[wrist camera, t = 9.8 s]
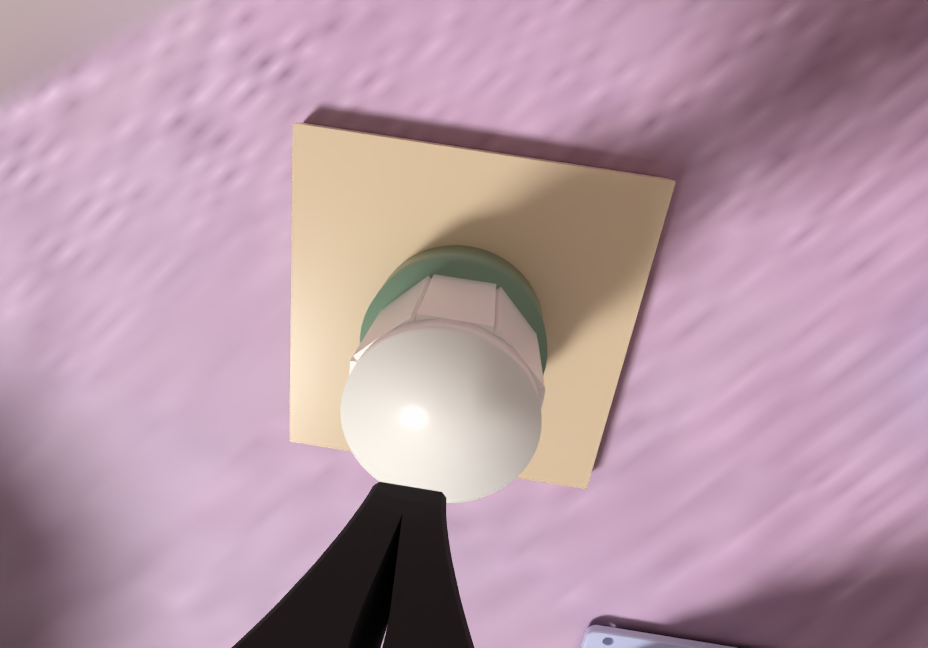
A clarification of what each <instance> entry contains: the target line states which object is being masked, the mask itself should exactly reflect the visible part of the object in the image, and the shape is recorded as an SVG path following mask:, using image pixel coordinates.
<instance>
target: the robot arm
mask: <svg viewBox="0 0 928 648" xmlns="http://www.w3.org/2000/svg"><path fill="white" fill-rule="evenodd" d="M387 624H388V625H387ZM386 628H387V630H386ZM385 631H386V636H385V640H384V644H383V648H474V645H473V642H472V639H471V635H470V632H469V628H468V625H467V621H466V618H465V614H464V611H463V607H462V603H461V599H460V595H459V591H458V586H457V581H456V577H455V572H454V568H453V563H452V558H451V552H450V546H449V539H448V531H447V521H446V496H445V495H444V494H443V493H442V492H439V491H433V490H427V489H421V488H415V487H409V486H403V485H397V484H391V483H385V482H379V483H377V484H375V485H374V486H373V487H372V489H371V491H370V492H369V494H368V496H367V497H366V499H365V500H364V502H363V503H362V504H361V506H360V507H359V509H358V510H357V512H356V513H355V514H354V516H353V517H352V518H351V520H350V521H349V522H348V524H347V525H346V526H345V527H344V529H343V530H342V531H341V533H340V534H339V535H338V536H337V537H336V539H335V540H334V541H333V542H332V543H331V545H330V546H329V547H328V548H327V549H326V551H325V552H324V553H323V554H322V555H321V557H320V558H319V559H318V560H317V561H316V563H315V564H314V565H313V566H312V567H311V568H310V569H309V570H308V572H307V573H306V574H305V575H304V576H303V577H302V578H301V579H300V580H299V581H298V582H297V583H296V584H295V585H294V587H293V588H292V589H291V590H290V591H289V592H288V593H287V594H286V595H285V596H284V597H283V598H282V599H281V600H280V602H279V603H278V604H277V605H276V606H275V607H274V608H273V609H272V610H271V611H270V612H269V613H268V614H267V615H266V616H265V617H264V618H263V619H262V620H261V621H260V622H259V623H257V624H256V625H255V626H254V627H253V628H252V629H251V630H250V631H249V632H248V633H247V634H246V635H245V636H244V637H243V638H242V639H241V640H239V641H238V642H237V643H236V644H235V645H234V646H233V647H232V648H380V647H381V644H382V641H383V638H384V634H385ZM580 648H736V647H730V646H724V645H718V644H712V643H706V642H700V641H694V640H687V639H681V638H675V637H669V636H663V635H657V634H651V633H645V632H638V631H632V630H626V629H620V628H614V627H608V626H602V625H592V626H590V627H588V628H587V629H586V631H585V634H584V637H583V640H582V643H581V646H580Z"/></svg>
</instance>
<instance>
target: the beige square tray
mask: <svg viewBox="0 0 928 648" xmlns="http://www.w3.org/2000/svg"><path fill="white" fill-rule="evenodd" d="M675 183H676V181H674V180H671V179H669V178H663V177H656V176H649V175H643V174H636V173H630V172H623V171H617V170H610V169H603V168H597V167H590V166H584V165H577V164H571V163H564V162H558V161H551V160H544V159H538V158H531V157H525V156H518V155H512V154H505V153H498V152H492V151H485V150H479V149H472V148H466V147H459V146H453V145H446V144H439V143H433V142H426V141H420V140H413V139H407V138H400V137H394V136H387V135H380V134H374V133H367V132H361V131H354V130H348V129H341V128H334V127H328V126H321V125H315V124H308V123H293V157H292V254H291V351H290V442H296V443H302V444H308V445H315V446H321V447H327V448H333V449H340V450H346V451H351V450H350V448H349V445H348V443H347V441H346V439H345V436H344V433H343V429H342V424H341V415H340V406H341V398H342V394H343V390H344V387H345V384H346V382H347V380H348V378H349V370H350V360H351V358H352V357H353V355H354V353H355V351H356V350H357V348H358V347H359V345H360V343H361V342H362V340H363V338H364V337H365V335H366V334H367V332H368V330H369V329H370V327H371V325H372V324H373V322H374V321H375V319H376V317H377V316H378V314H379V313H380V311H381V310H382V309H383V308H384V307H386V306H387V305H388V304H390V303H391V302H393V301H394V300H395V299H397V298H398V297H399V296H401V295H402V294H404V293H405V292H406V291H408V290H409V289H410V288H412V287H413V286H415V285H416V284H417V283H419V282H420V281H422V280H423V279H424V278H426V277H427V276H428V275H429V276H430V278H431V279H432V277H433V275H434V274H436V275H442V276H449V277H455V278H462V279H468V280H475V281H481V282H488V283H494V284H496V289H498V288H499V287H502V289H503V290H504V291H505V293H506V294H507V295H508V297H509V298H510V299H511V301H512V302H513V303H514V305H515V306H516V307H517V309H518V310H519V311H520V313H521V314H522V315H523V317H524V318H525V319H526V321H527V322H528V323H529V325H530V326H531V327H532V329H533V330H534V331H535V333H536V334H537V338H538V345H539V352H540V359H541V365H542V372H543V379H544V385H545V395H544V400H543V404H542V408H541V415H542V428H541V435H540V440H539V443H538V446H537V449H536V451H535V453H534V455H533V458H532V460H531V461H530V462H529V464H528V465H527V467H526V468H525V469H524V471H523V472H522V473H521V474H520V475H519V476H518V477H517V478H521V479H527V480H533V481H540V482H546V483H552V484H558V485H565V486H571V487H577V488H583V489H587V486H588V483H589V479H590V476H591V472H592V469H593V466H594V462H595V459H596V455H597V452H598V448H599V445H600V441H601V438H602V435H603V431H604V428H605V424H606V421H607V417H608V414H609V410H610V407H611V404H612V400H613V397H614V393H615V390H616V386H617V383H618V380H619V376H620V373H621V369H622V366H623V362H624V359H625V355H626V352H627V349H628V345H629V342H630V338H631V335H632V331H633V328H634V324H635V321H636V318H637V314H638V311H639V307H640V304H641V300H642V297H643V293H644V290H645V287H646V283H647V280H648V276H649V273H650V269H651V266H652V262H653V259H654V256H655V252H656V249H657V245H658V242H659V238H660V235H661V231H662V228H663V225H664V221H665V218H666V214H667V211H668V207H669V204H670V200H671V197H672V194H673V190H674V187H675Z"/></svg>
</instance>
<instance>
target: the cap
mask: <svg viewBox="0 0 928 648" xmlns="http://www.w3.org/2000/svg"><path fill="white" fill-rule="evenodd" d="M544 395H545V385H544V379H543V372H542V365H541V359H540V352H539V345H538V338H537V334H536V333H535V331H534V330H533V329H532V327H531V326H530V325H529V323H528V322H527V321H526V319H525V318H524V317H523V315H522V314H521V313H520V311H519V310H518V309H517V307H516V306H515V305H514V303H513V302H512V301H511V299H510V298H509V297H508V295H507V294H506V293H505V291H504V290H503V289H502V287H499V288H498V289H496V284H494V283H488V282H481V281H475V280H468V279H462V278H455V277H449V276H442V275H436V274H434V275H433V277H432V279H431V278H430V276H429V275H428V276H427V277H426V278H424V279H423V280H422V281H420V282H419V283H417V284H416V285H415V286H413V287H412V288H410V289H409V290H408V291H406V292H405V293H404V294H402V295H401V296H399V297H398V298H397V299H395V300H394V301H393V302H391V303H390V304H388V305H387V306H386V307H384V308H383V309H382V310H381V311H380V313H379V314H378V316H377V317H376V319H375V321H374V322H373V324H372V325H371V327H370V329H369V330H368V332H367V334H366V335H365V337H364V338H363V340H362V342H361V343H360V345H359V347H358V348H357V350H356V351H355V353H354V355H353V357H352V358H351V360H350V370H349V378H348V380H347V382H346V384H345V387H344V390H343V394H342V398H341V406H340V415H341V424H342V429H343V433H344V436H345V439H346V441H347V443H348V445H349V448H350V450H351V451H352V453H353V454H354V456H355V457H356V459H357V460H358V462H359V463H360V464H361V465H362V466H363V467H364V469H365V470H366V471H367V472H369V473H370V474H371V475H372V476H373V477H374V478H375V479H377V480H378V481H379V482H385V483H391V484H397V485H403V486H409V487H415V488H421V489H427V490H433V491H439V492H442V493H443V494H444V495H445V496H446V503H459V502H467V501H471V500H476V499H479V498H482V497H485V496H488V495H490V494H493V493H495V492H497V491H499V490H500V489H502V488H504V487H505V486H507V485H508V484H510V483H511V482H512V481H513V480H514V479H516V478H517V477H518V476H519V475H520V474H521V473H522V472H523V471H524V469H525V468H526V467H527V465H528V464H529V462H530V461H531V460H532V458H533V455H534V453H535V451H536V449H537V446H538V443H539V440H540V435H541V428H542V415H541V408H542V404H543V400H544Z"/></svg>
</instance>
